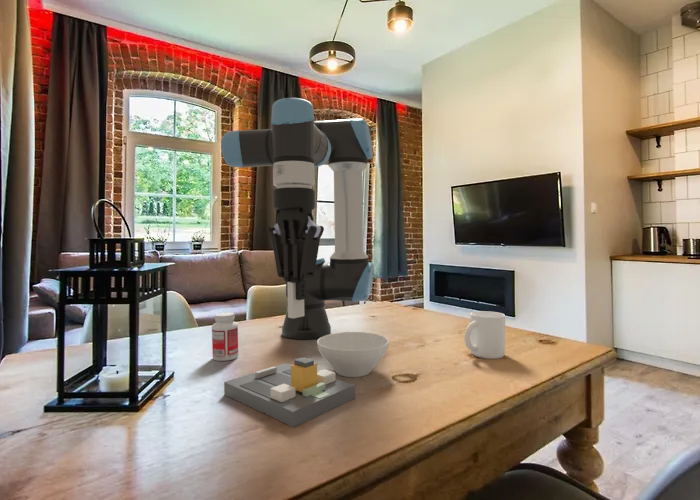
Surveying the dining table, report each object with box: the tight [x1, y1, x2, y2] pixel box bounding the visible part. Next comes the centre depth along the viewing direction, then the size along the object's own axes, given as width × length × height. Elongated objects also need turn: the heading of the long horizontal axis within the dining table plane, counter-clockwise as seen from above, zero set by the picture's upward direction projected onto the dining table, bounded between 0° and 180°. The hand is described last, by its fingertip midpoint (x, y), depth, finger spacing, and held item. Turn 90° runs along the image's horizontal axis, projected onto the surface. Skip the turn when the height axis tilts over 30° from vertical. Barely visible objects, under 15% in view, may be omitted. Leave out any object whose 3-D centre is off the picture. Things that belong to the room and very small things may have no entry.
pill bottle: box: [211, 311, 239, 362], centre depth 100 cm, size 6×6×11 cm
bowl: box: [316, 331, 390, 378], centre depth 89 cm, size 16×16×7 cm
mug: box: [464, 310, 506, 360], centre depth 100 cm, size 12×8×10 cm
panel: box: [223, 362, 356, 428], centre depth 75 cm, size 20×15×4 cm
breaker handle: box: [290, 357, 318, 393], centre depth 72 cm, size 3×4×5 cm
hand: (296, 316), depth 74 cm, fingers closed
